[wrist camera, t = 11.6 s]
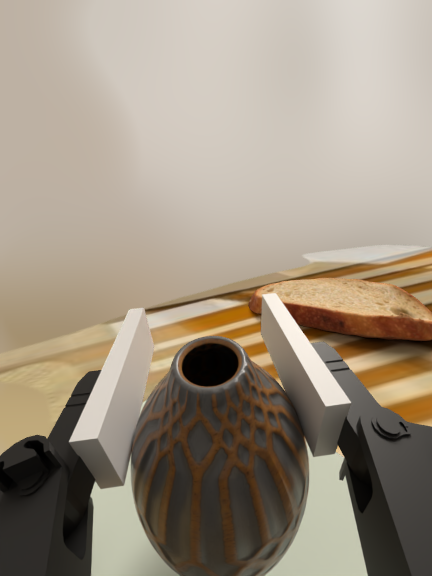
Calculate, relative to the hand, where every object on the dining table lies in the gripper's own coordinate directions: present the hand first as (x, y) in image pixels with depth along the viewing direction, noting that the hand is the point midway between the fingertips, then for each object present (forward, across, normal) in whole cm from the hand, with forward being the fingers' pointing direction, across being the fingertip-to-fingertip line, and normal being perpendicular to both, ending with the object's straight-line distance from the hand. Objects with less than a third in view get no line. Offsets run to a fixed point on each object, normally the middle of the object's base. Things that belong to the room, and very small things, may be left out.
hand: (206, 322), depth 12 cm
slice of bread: (+13, +16, -11) cm, 23 cm away
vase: (-5, 0, -7) cm, 8 cm away
